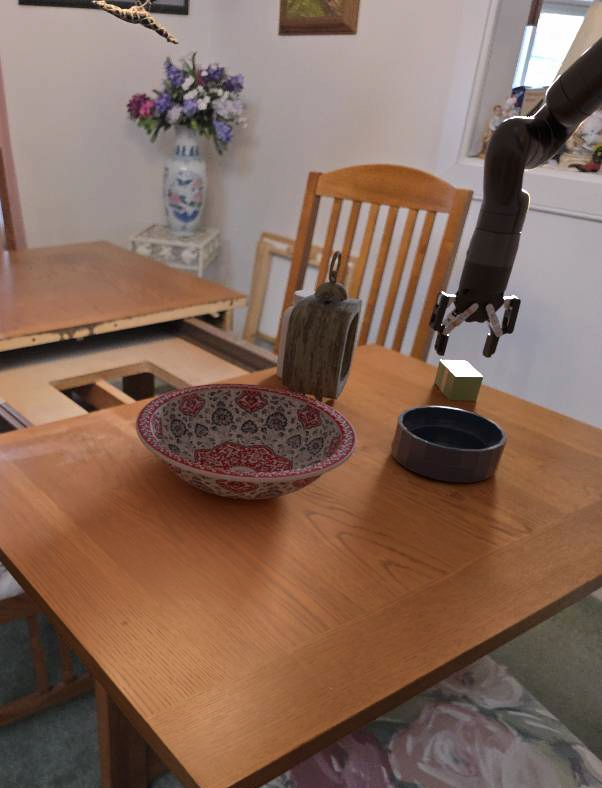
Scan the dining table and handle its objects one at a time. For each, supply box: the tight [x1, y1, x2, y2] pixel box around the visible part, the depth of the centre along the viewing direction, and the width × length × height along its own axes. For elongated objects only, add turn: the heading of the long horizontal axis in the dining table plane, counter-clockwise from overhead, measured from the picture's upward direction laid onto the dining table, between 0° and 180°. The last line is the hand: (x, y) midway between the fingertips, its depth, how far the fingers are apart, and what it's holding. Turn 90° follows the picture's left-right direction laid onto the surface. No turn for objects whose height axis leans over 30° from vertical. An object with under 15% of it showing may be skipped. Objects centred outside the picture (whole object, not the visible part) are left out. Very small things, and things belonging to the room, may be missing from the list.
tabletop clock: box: [281, 250, 363, 403], centre depth 112 cm, size 14×9×25 cm, turn 160°
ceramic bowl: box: [135, 383, 357, 500], centre depth 95 cm, size 29×29×8 cm
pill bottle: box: [276, 289, 316, 379], centre depth 127 cm, size 8×8×15 cm
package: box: [433, 359, 484, 402], centre depth 127 cm, size 5×8×4 cm, turn 3°
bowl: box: [390, 405, 508, 483], centre depth 104 cm, size 15×15×6 cm
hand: (463, 355), depth 124 cm, fingers open, 8 cm apart
